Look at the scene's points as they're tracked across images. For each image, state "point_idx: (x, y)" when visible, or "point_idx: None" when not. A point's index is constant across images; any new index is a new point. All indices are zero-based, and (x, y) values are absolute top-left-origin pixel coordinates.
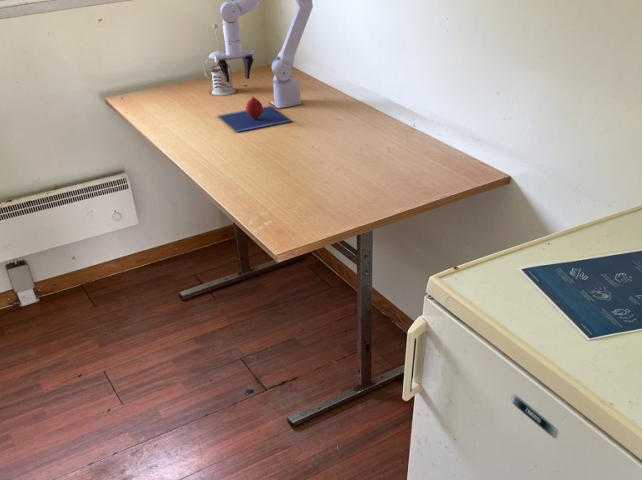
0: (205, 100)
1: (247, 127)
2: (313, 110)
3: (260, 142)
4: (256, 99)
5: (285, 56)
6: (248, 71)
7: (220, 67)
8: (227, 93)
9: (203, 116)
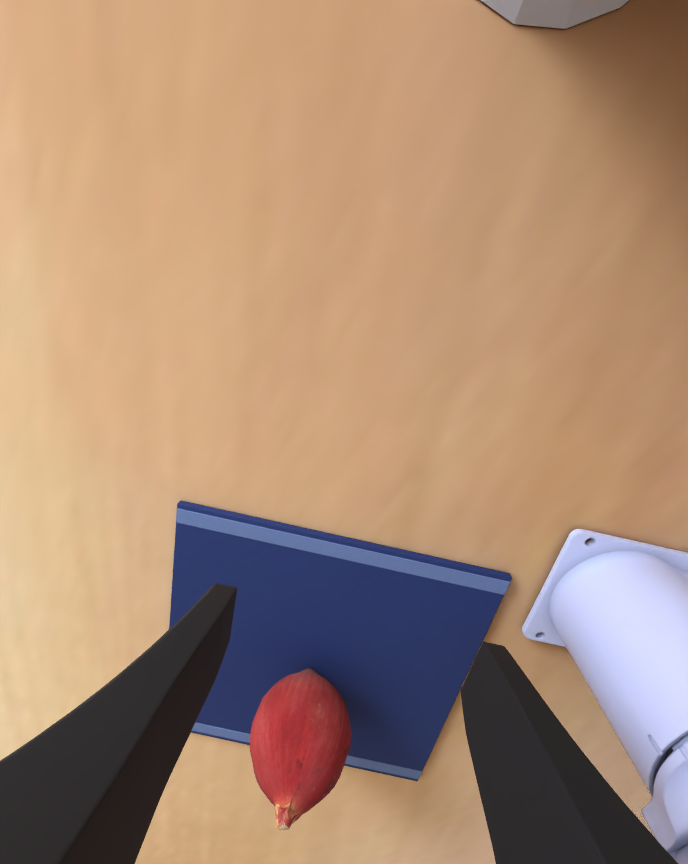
0: (260, 38)
1: (220, 720)
2: (612, 747)
3: (194, 820)
4: (306, 811)
5: None
6: (501, 829)
7: (6, 781)
8: (535, 6)
9: (100, 429)
